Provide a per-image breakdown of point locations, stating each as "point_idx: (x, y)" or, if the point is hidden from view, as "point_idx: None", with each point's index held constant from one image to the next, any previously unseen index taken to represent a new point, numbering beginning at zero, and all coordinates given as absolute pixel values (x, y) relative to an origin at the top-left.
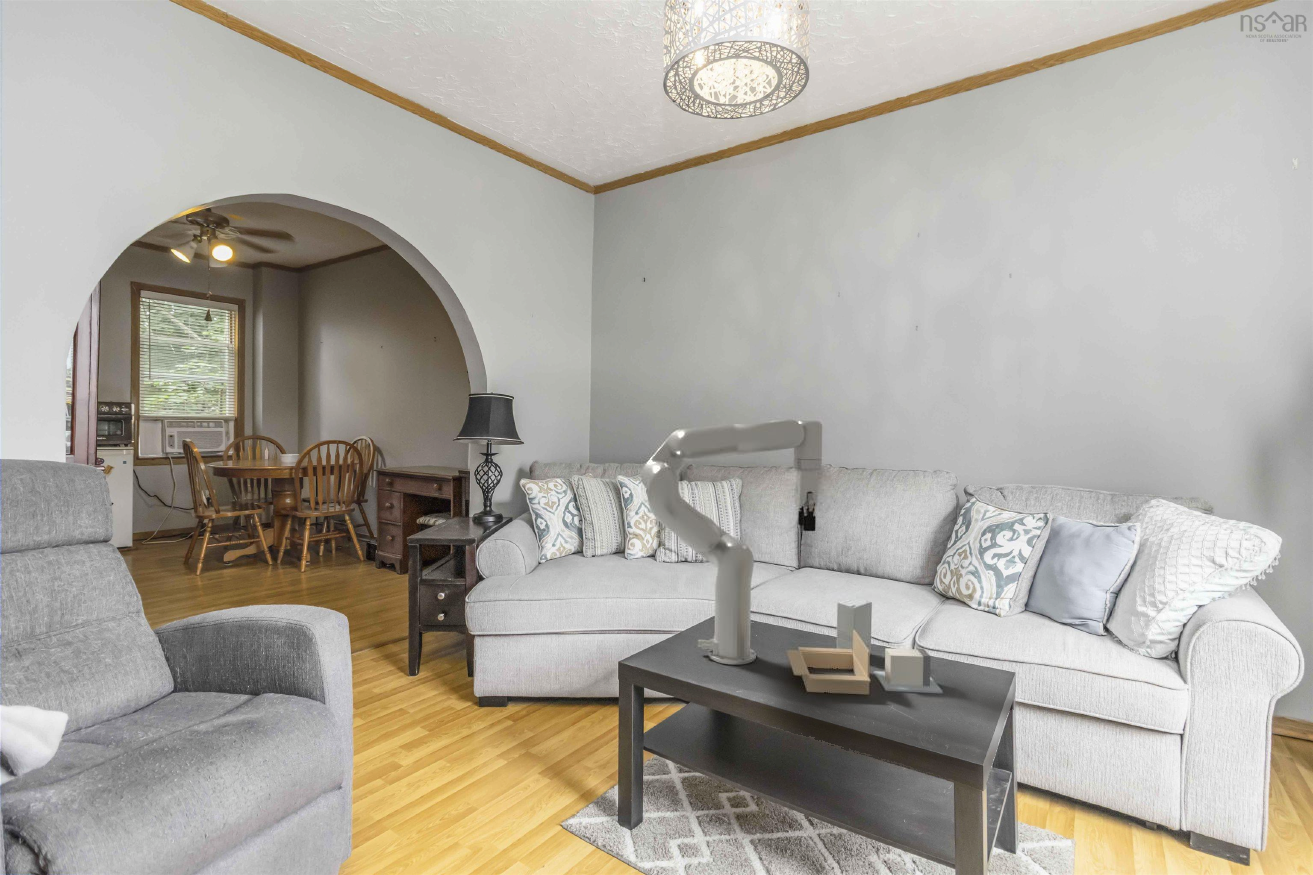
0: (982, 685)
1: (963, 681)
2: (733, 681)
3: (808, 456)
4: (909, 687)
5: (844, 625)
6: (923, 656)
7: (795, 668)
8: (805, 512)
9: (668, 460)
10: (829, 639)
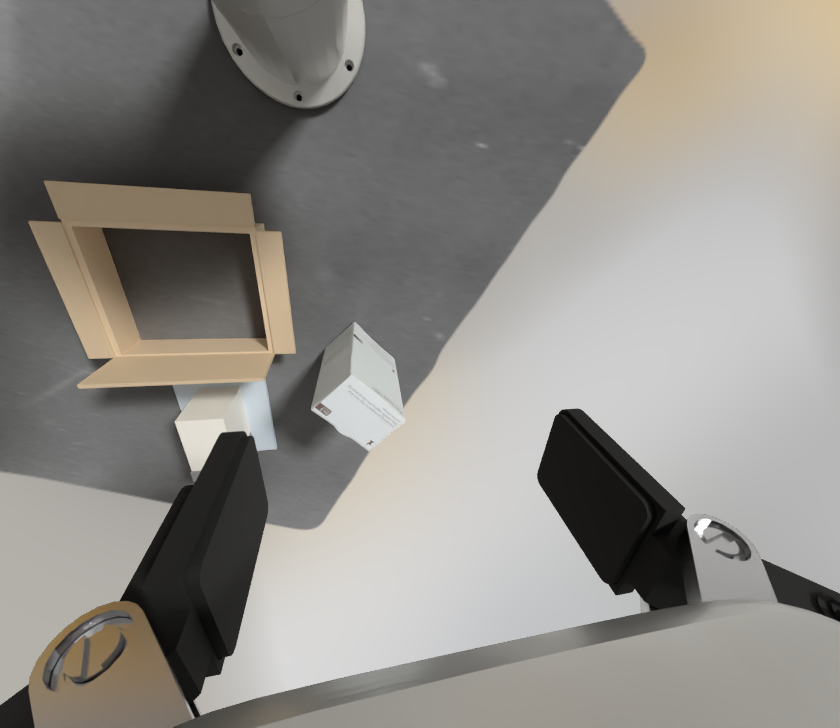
0: None
1: (264, 484)
2: None
3: None
4: None
5: (335, 363)
6: (191, 471)
7: (91, 191)
8: (39, 701)
9: None
10: (450, 323)
